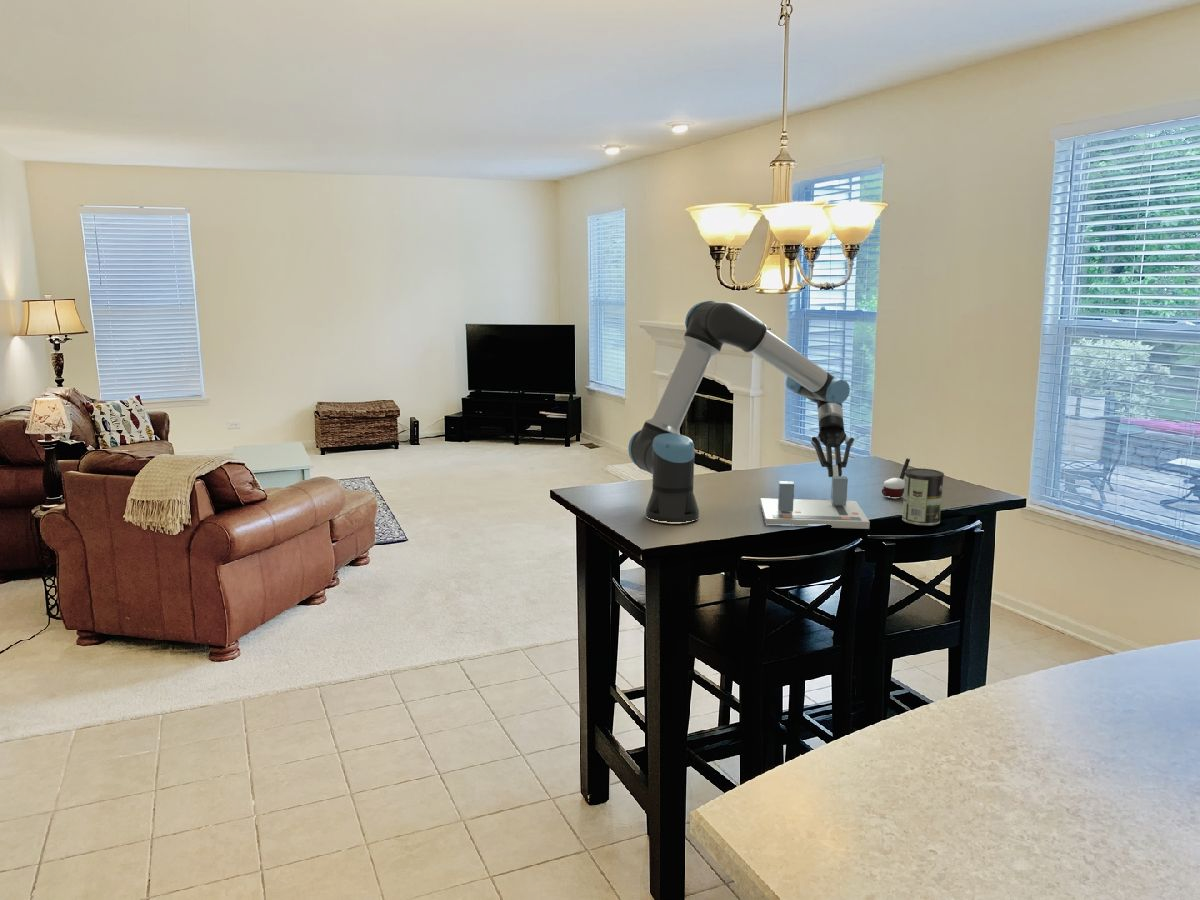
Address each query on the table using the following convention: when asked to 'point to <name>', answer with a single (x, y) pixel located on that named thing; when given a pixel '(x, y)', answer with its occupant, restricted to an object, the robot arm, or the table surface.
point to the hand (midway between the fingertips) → (836, 485)
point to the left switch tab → (785, 496)
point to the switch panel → (815, 513)
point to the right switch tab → (839, 490)
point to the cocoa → (895, 484)
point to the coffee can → (922, 496)
